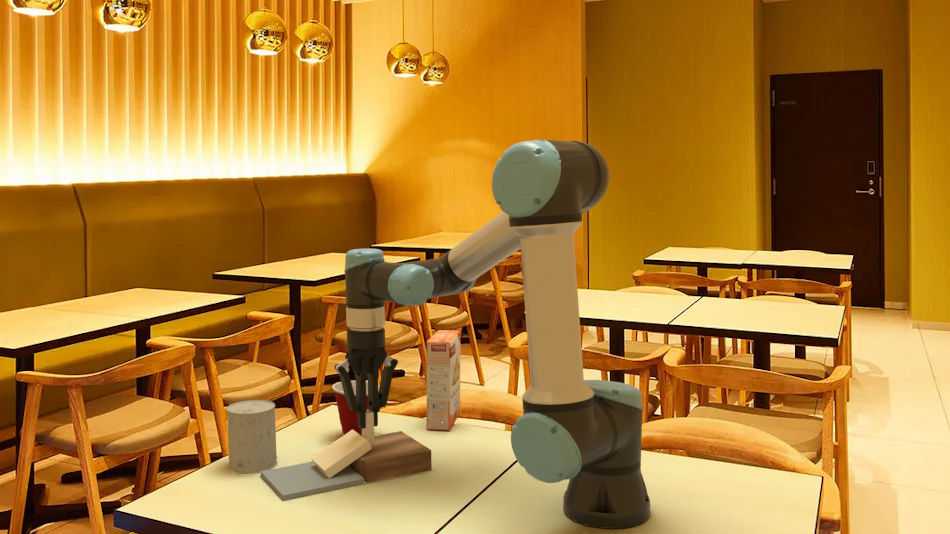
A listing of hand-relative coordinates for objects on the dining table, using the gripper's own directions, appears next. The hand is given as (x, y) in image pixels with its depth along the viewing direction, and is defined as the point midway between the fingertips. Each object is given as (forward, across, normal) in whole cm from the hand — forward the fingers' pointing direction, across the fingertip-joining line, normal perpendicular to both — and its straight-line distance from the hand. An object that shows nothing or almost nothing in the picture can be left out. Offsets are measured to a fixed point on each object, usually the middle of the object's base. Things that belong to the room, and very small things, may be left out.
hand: (368, 442), depth 171 cm
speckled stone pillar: (+6, +20, -14) cm, 25 cm away
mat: (+5, +12, 0) cm, 13 cm away
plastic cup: (+6, -5, -19) cm, 20 cm away
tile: (+2, +5, 0) cm, 6 cm away
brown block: (+5, -4, 0) cm, 6 cm away
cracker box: (+6, -27, -19) cm, 34 cm away
